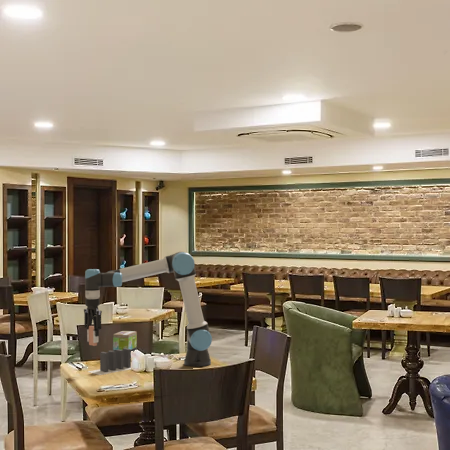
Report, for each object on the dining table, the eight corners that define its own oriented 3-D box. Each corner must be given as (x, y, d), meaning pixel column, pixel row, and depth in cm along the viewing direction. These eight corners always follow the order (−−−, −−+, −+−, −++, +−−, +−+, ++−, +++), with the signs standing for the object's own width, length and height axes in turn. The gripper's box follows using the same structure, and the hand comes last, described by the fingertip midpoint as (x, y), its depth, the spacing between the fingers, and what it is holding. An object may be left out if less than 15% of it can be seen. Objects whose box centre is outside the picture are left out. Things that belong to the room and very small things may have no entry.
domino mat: (136, 369, 380) (136, 368, 380) (99, 375, 363) (99, 374, 363) (123, 365, 388) (123, 365, 388) (86, 372, 371) (86, 371, 371)
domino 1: (96, 345, 370) (96, 326, 370) (94, 345, 369) (94, 327, 369) (91, 344, 373) (91, 325, 373) (89, 344, 372) (88, 326, 372)
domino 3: (115, 370, 374) (115, 351, 374) (113, 370, 373) (113, 352, 373) (110, 368, 378) (110, 350, 378) (107, 369, 377) (107, 350, 377)
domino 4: (123, 368, 378) (123, 350, 378) (120, 369, 377) (120, 350, 377) (117, 367, 381) (117, 349, 381) (115, 368, 380) (115, 349, 380)
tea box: (128, 360, 406) (128, 334, 406) (112, 359, 408) (112, 334, 408) (137, 355, 420) (137, 330, 420) (121, 354, 422) (121, 330, 422)
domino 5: (130, 367, 381) (130, 349, 381) (128, 367, 380) (128, 349, 380) (125, 366, 385) (125, 348, 385) (122, 366, 384) (122, 348, 384)
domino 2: (108, 371, 371) (108, 352, 371) (105, 372, 370) (105, 353, 370) (102, 370, 374) (102, 351, 374) (100, 370, 373) (100, 352, 373)
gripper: (77, 297, 375) (77, 340, 375) (96, 300, 362) (96, 344, 362) (89, 296, 380) (89, 339, 380) (108, 298, 367) (108, 342, 367)
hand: (92, 341), depth 371 cm, fingers closed on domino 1, 5 cm apart
